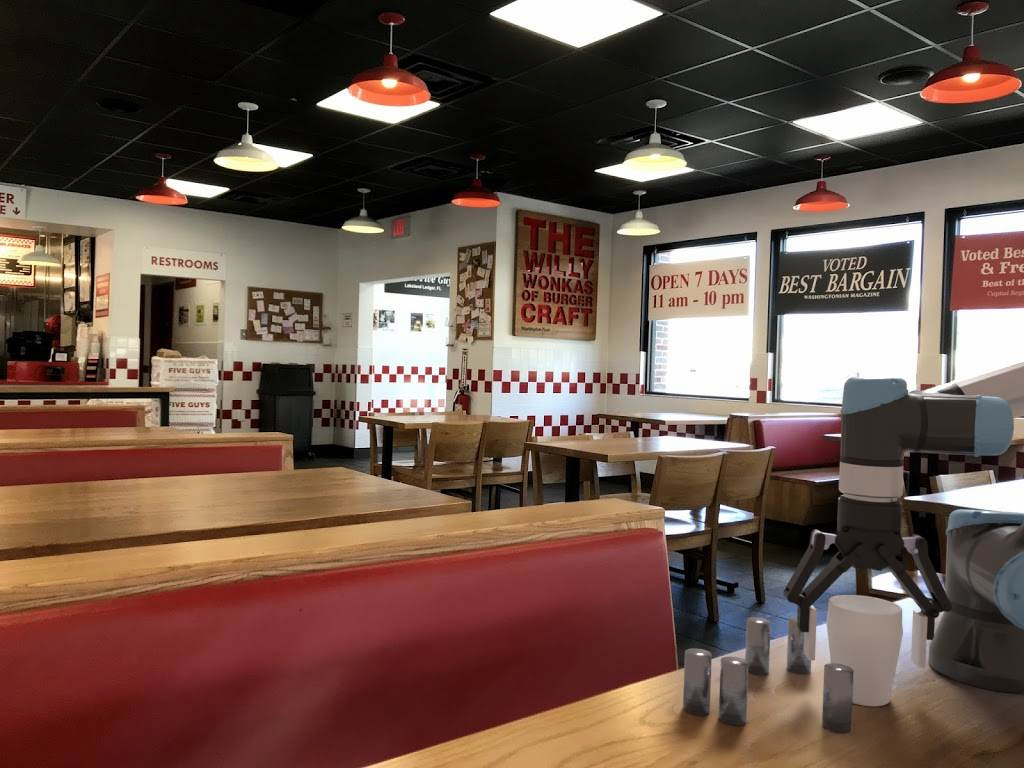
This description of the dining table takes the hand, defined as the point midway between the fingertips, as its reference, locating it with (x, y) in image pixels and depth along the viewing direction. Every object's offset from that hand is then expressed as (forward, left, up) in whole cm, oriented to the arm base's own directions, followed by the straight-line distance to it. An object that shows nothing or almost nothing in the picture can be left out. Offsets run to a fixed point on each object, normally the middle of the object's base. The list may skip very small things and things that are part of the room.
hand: (863, 660), depth 103 cm
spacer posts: (+14, +1, -5) cm, 15 cm away
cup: (0, 0, -5) cm, 5 cm away
